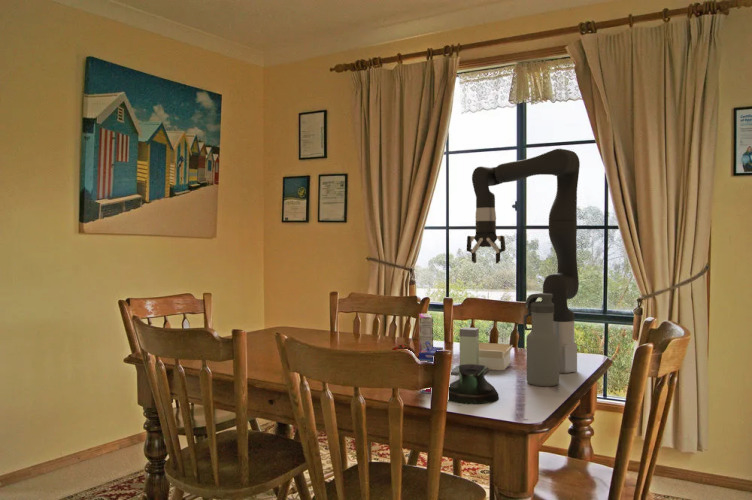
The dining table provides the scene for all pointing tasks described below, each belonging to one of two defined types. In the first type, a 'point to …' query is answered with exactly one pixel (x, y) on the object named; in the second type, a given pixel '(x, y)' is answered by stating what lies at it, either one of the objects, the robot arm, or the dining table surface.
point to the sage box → (469, 346)
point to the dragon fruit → (403, 347)
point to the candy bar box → (425, 330)
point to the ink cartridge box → (428, 358)
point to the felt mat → (456, 372)
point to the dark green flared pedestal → (472, 386)
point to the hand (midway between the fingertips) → (486, 263)
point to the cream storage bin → (494, 355)
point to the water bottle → (541, 342)
